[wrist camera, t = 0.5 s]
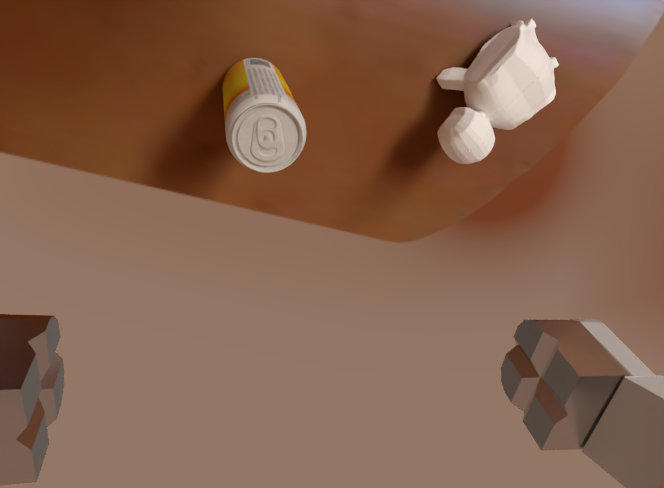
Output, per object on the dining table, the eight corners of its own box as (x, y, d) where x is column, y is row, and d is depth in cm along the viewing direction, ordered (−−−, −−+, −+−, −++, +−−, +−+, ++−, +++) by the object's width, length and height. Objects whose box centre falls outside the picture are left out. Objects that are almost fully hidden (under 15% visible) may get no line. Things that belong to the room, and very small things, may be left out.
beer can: (224, 119, 52) (228, 178, 40) (220, 55, 49) (223, 98, 37) (284, 118, 54) (307, 176, 41) (285, 56, 51) (309, 98, 38)
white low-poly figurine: (483, 16, 55) (397, 124, 54) (547, 2, 48) (451, 126, 46) (521, 76, 60) (443, 177, 58) (586, 71, 52) (499, 188, 51)
